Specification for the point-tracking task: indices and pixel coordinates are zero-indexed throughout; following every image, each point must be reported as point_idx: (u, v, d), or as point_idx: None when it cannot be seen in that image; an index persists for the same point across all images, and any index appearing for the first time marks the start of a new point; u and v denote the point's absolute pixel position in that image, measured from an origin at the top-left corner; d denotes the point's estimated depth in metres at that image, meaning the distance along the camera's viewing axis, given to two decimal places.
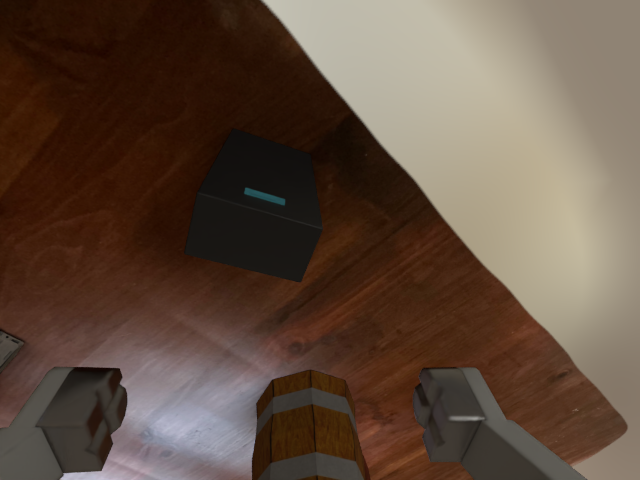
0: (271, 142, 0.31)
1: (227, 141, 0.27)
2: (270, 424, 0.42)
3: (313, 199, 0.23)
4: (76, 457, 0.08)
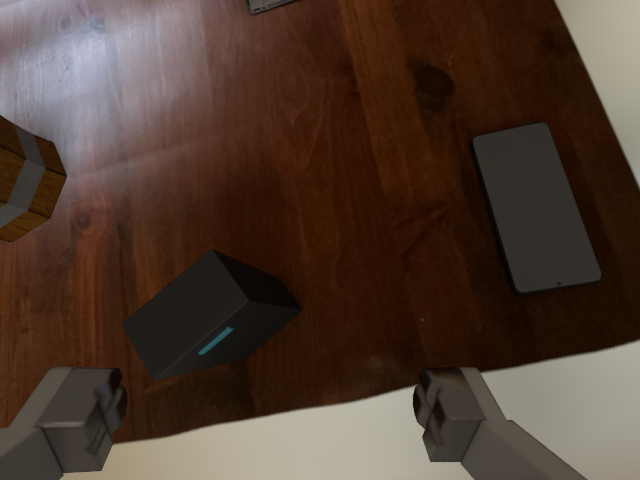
0: (273, 334, 0.33)
1: (291, 309, 0.30)
2: (15, 150, 0.37)
3: (192, 369, 0.24)
4: (76, 457, 0.08)
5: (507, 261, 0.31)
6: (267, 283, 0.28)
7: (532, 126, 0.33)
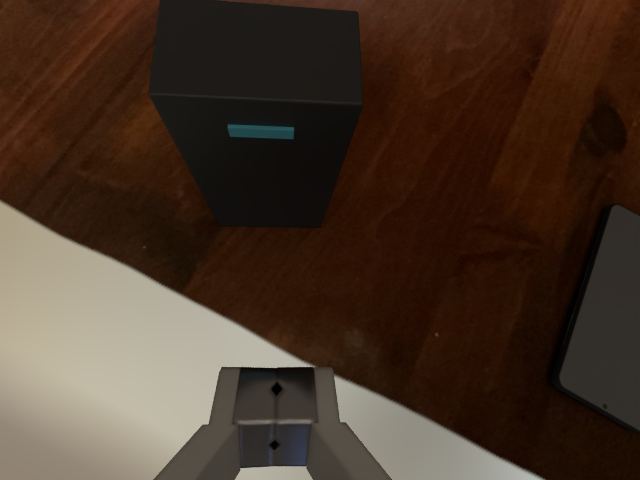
0: (272, 224, 0.25)
1: (325, 207, 0.22)
2: None
3: (188, 152, 0.15)
4: (256, 453, 0.09)
5: (568, 343, 0.24)
6: None
7: None
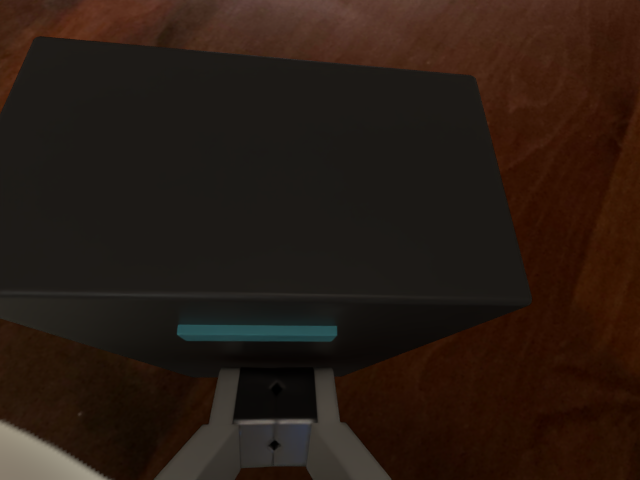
0: None
1: (358, 369, 0.14)
2: None
3: (103, 345, 0.07)
4: (256, 453, 0.09)
5: None
6: None
7: None
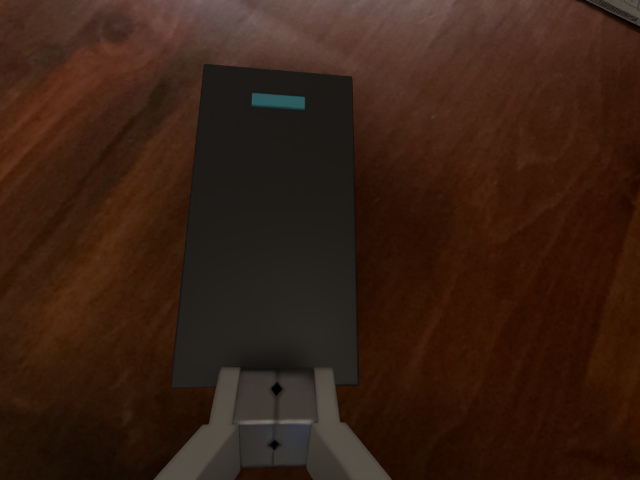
0: None
1: (354, 279, 0.15)
2: None
3: (204, 135, 0.16)
4: (256, 453, 0.09)
5: None
6: None
7: None
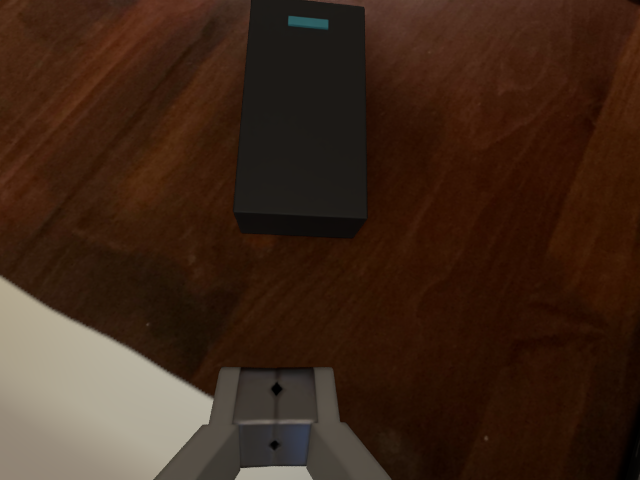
0: (303, 206, 0.19)
1: (364, 148, 0.20)
2: None
3: (253, 45, 0.21)
4: (256, 453, 0.09)
5: None
6: None
7: None
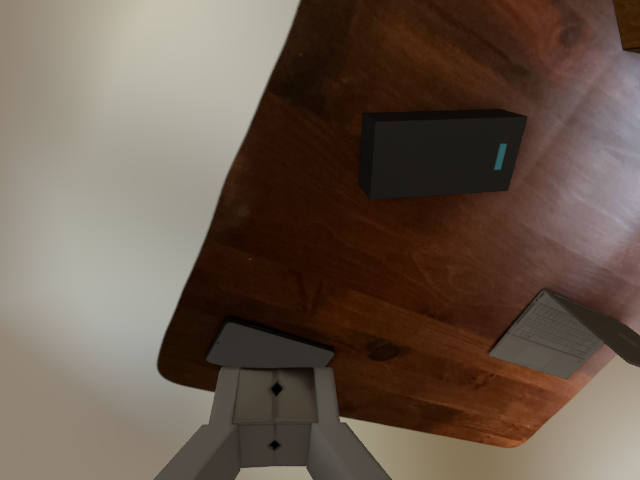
0: (378, 163, 0.32)
1: (412, 196, 0.34)
2: None
3: (488, 122, 0.32)
4: (256, 453, 0.09)
5: (250, 327, 0.42)
6: None
7: None
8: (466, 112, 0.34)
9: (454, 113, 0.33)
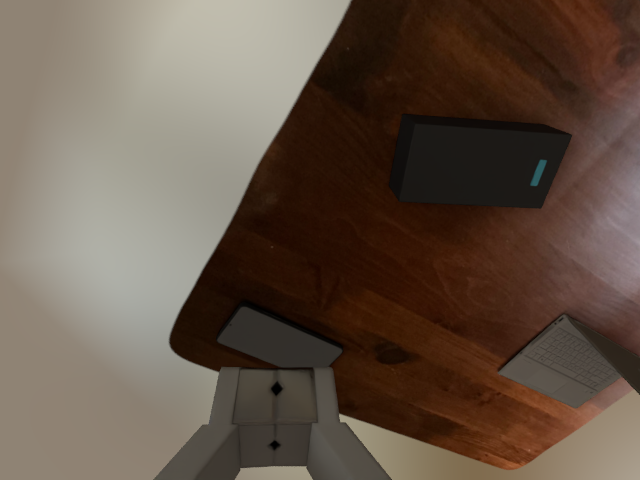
0: (412, 166, 0.31)
1: (442, 202, 0.33)
2: None
3: (530, 136, 0.31)
4: (256, 453, 0.09)
5: (263, 314, 0.43)
6: None
7: None
8: (508, 124, 0.33)
9: (496, 123, 0.33)
